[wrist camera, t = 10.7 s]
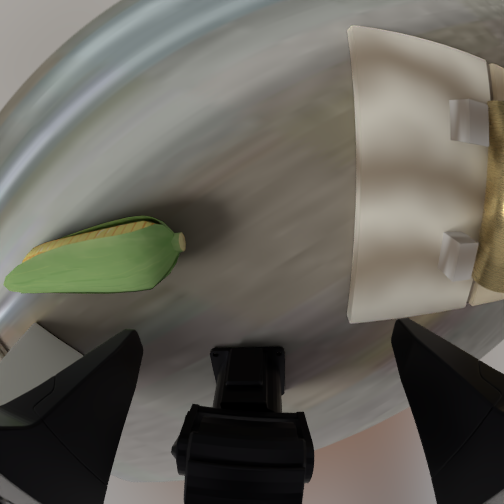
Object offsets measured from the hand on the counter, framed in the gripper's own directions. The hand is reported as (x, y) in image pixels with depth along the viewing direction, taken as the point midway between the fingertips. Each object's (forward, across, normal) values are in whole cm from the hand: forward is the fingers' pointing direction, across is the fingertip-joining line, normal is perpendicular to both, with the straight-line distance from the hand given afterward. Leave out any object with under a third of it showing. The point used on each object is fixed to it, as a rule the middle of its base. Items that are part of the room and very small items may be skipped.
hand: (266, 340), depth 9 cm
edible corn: (+12, +15, +1) cm, 20 cm away
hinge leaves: (+12, -19, -3) cm, 23 cm away
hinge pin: (+11, -19, -3) cm, 22 cm away
